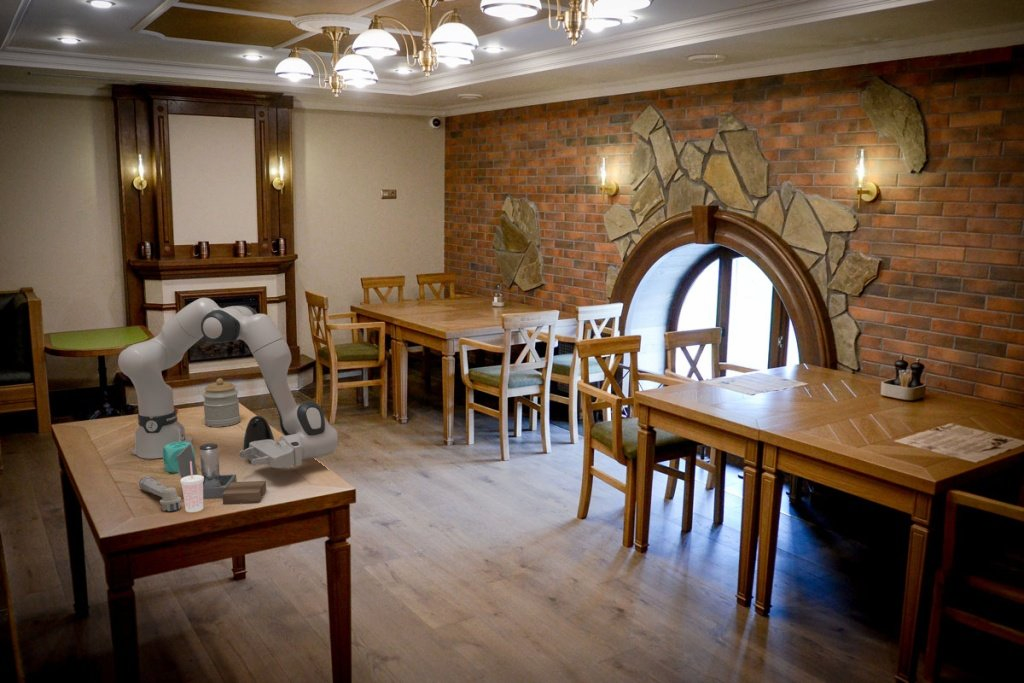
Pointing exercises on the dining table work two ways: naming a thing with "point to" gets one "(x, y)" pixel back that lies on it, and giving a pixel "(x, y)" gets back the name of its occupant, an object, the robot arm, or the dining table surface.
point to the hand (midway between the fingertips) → (245, 458)
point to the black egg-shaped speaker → (257, 432)
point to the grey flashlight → (161, 493)
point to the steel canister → (210, 465)
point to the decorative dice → (174, 455)
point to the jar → (221, 404)
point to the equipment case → (184, 471)
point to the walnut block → (244, 492)
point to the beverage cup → (193, 491)
